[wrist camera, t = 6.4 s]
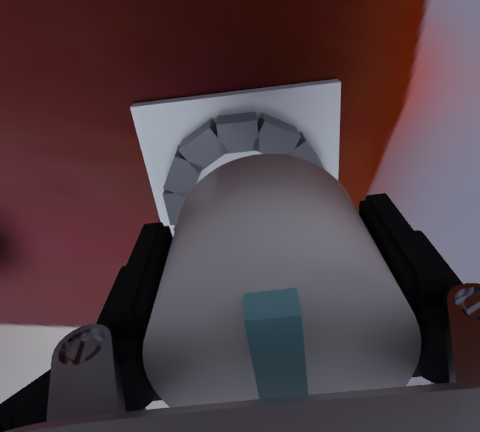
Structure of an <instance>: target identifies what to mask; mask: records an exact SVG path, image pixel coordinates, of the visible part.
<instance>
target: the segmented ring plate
mask: <svg viewBox="0 0 480 432" xmlns="http://www.w3.org/2000/svg"><path fill="white" fill-rule="evenodd" d="M340 101H341V81H339V80H338V79H332V80H324V81H315V82H307V83H299V84H290V85H282V86H274V87H266V88H257V89H249V90H241V91H232V92H224V93H216V94H208V95H199V96H191V97H183V98H174V99H166V100H158V101H150V102H141V103H133V104H132V106H131V107H130V109H131V113H132V117H133V121H134V124H135V128H136V132H137V135H138V139H139V143H140V147H141V150H142V154H143V158H144V162H145V165H146V169H147V173H148V176H149V180H150V184H151V188H152V191H153V195H154V199H155V202H156V206H157V210H158V214H159V217H160V221H161V222H162V223H163V224H164V226H169V227H170V230H171V233H172V236H174V232H175V229H176V225H177V221H178V218H179V214H180V211H181V208H182V206H183V204H184V201H185V199H186V198H187V196H188V195H189V193H190V192H191V190H192V189H193V188H194V187H195V185H196V184H197V183H198V182H199V181H200V180H201V179H202V178H204V177H205V176H206V175H207V174H208V173H210V172H211V171H213V170H214V169H216V168H217V167H219V166H221V165H223V164H225V163H227V162H230V161H232V160H235V159H238V158H241V157H246V156H251V155H256V154H284V155H289V156H295V157H298V158H301V159H304V160H307V161H310V162H312V163H314V164H316V165H318V166H320V167H321V168H323V169H324V170H326V171H327V172H329V173H330V174H331V175H332V176H333V177H334V178H336V179H337V180H338V168H339V135H340Z"/></svg>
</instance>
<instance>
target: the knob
mask: <svg viewBox="0 0 480 432" xmlns="http://www.w3.org/2000/svg"><path fill="white" fill-rule="evenodd" d="M420 353H421V335H420V328H419V325H418V322H417V320H416V317H415V315H414V313H413V311H412V309H411V307H410V305H409V304H408V302H407V300H406V298H405V296H404V295H403V293H402V291H401V289H400V287H399V286H398V284H397V282H396V280H395V278H394V277H393V275H392V273H391V271H390V269H389V267H388V266H387V264H386V262H385V260H384V258H383V257H382V255H381V253H380V251H379V249H378V248H377V246H376V244H375V242H374V240H373V239H372V237H371V235H370V233H369V231H368V230H367V228H366V226H365V224H364V222H363V220H362V219H361V217H360V215H359V213H358V211H357V210H356V208H355V206H354V204H353V202H352V201H351V199H350V197H349V195H348V194H347V192H346V190H345V189H344V187H343V186H342V185H341V184H340V183H339V181H338V180H337V179H336V178H334V177H333V176H332V175H331V174H330V173H329V172H327V171H326V170H324V169H323V168H321V167H320V166H318V165H316V164H314V163H312V162H310V161H307V160H304V159H301V158H298V157H295V156H289V155H284V154H256V155H251V156H246V157H241V158H238V159H235V160H232V161H230V162H227V163H225V164H223V165H221V166H219V167H217V168H216V169H214V170H213V171H211V172H210V173H208V174H207V175H206V176H205V177H204V178H202V179H201V180H200V181H199V182H198V183H197V184H196V185H195V187H194V188H193V189H192V190H191V192H190V193H189V195H188V196H187V198H186V199H185V201H184V204H183V206H182V208H181V211H180V214H179V218H178V221H177V225H176V229H175V232H174V236H173V239H172V243H171V246H170V250H169V253H168V257H167V260H166V264H165V267H164V271H163V274H162V278H161V281H160V285H159V288H158V292H157V296H156V299H155V303H154V306H153V310H152V313H151V317H150V320H149V324H148V327H147V331H146V334H145V338H144V342H143V353H142V356H143V364H144V369H145V372H146V375H147V378H148V380H149V382H150V383H151V385H152V387H153V389H154V390H155V391H156V393H157V394H158V395H159V397H160V398H161V399H162V400H163V401H164V402H165V403H166V404H167V405H168V406H169V407H170V408H171V407H181V406H192V405H202V404H213V403H223V402H234V401H245V400H256V399H267V398H278V397H289V396H301V395H312V394H323V393H334V392H346V391H358V390H370V389H381V388H393V387H405V386H406V385H407V383H408V381H409V380H410V379H411V377H412V375H413V373H414V371H415V369H416V367H417V364H418V361H419V357H420Z"/></svg>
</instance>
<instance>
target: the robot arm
mask: <svg viewBox="0 0 480 432" xmlns="http://www.w3.org/2000/svg"><path fill="white" fill-rule="evenodd" d="M359 215H360V217H361V219H362V220H363V222H364V224H365V226H366V228H367V230H368V231H369V233H370V235H371V237H372V239H373V240H374V242H375V244H376V246H377V248H378V249H379V251H380V253H381V255H382V257H383V258H384V260H385V262H386V264H387V266H388V267H389V269H390V271H391V273H392V275H393V277H394V278H395V280H396V282H397V284H398V286H399V287H400V289H401V291H402V293H403V295H404V296H405V298H406V300H407V302H408V304H409V305H410V307H411V309H412V311H413V313H414V315H415V317H416V320H417V322H418V325H419V328H420V335H421V353H420V357H419V361H418V364H417V367H416V369H415V371H414V373H413V375H412V377H420V376H422V377H423V378H425V379H427V380H429V381H431V382H432V383H431V384H429V385H417V386H405V387H393V388H381V389H370V390H358V391H346V392H334V393H323V394H312V395H301V396H289V397H278V398H267V399H256V400H245V401H234V402H223V403H213V404H202V405H192V406H181V407H171V408H160V409H150V410H146V408H145V407H146V406H148V405H149V404H150V403H151V402H152V401H158V400H162V399H161V398H160V397H159V395H158V394H157V393H156V391H155V390H154V389H153V387H152V385H151V383H150V382H149V380H148V378H147V375H146V372H145V369H144V364H143V356H142V353H143V342H144V338H145V334H146V331H147V327H148V324H149V320H150V317H151V313H152V310H153V306H154V303H155V299H156V296H157V292H158V288H159V285H160V281H161V278H162V274H163V271H164V267H165V264H166V260H167V257H168V253H169V250H170V246H171V243H172V239H173V236H172V233H171V230H170V227H169V226H164V224H163V223H162V222H158V223H150V224H144V226H143V228H142V230H141V233H140V235H139V237H138V240H137V242H136V244H135V247H134V249H133V251H132V254H131V256H130V258H129V261H128V263H127V265H126V266H123V267H122V268H121V269H120V271H119V273H118V276H117V278H116V280H115V282H114V285H113V287H112V289H111V291H110V294H109V296H108V298H107V300H106V303H105V305H104V307H103V309H102V312H101V314H100V316H99V318H98V321H97V323H96V324H89V325H86V326H82V327H80V328H78V329H76V330H73V331H72V332H71V333H69V334H68V335H66V336H65V337H64V338H63V339H62V340H61V341H60V342H59V343H58V345H57V346H56V348H55V349H54V352H53V355H52V362H51V369H50V370H49V371H47V372H46V373H44V374H43V375H42V376H40V377H39V378H38V379H36V380H34V381H33V382H31V383H30V384H29V385H27V386H26V387H24V388H23V389H21V390H20V391H18V392H17V393H16V394H14V395H13V396H11V397H10V398H8V399H7V400H5V401H4V402H2V403H1V404H0V432H480V284H478V283H466V284H463V283H462V282H461V281H460V279H459V278H458V277H457V276H456V274H455V273H454V272H453V270H452V269H451V268H450V267H449V265H448V264H447V263H446V262H445V260H444V259H443V258H442V257H441V255H440V254H439V253H438V251H437V250H436V249H435V247H434V246H433V245H432V244H431V242H430V241H429V240H428V239H427V237H426V236H425V235H424V234H423V233H422V232H421V231H419V230H417V231H414V230H413V229H412V228H411V226H410V225H409V224H408V222H407V221H406V220H405V218H404V217H403V216H402V214H401V213H400V212H399V210H398V209H397V208H396V206H395V205H394V204H393V202H392V201H391V200H390V198H389V197H388V196H387V194H385V193H383V194H375V195H367V196H366V198H365V200H364V201H360V203H359Z"/></svg>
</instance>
